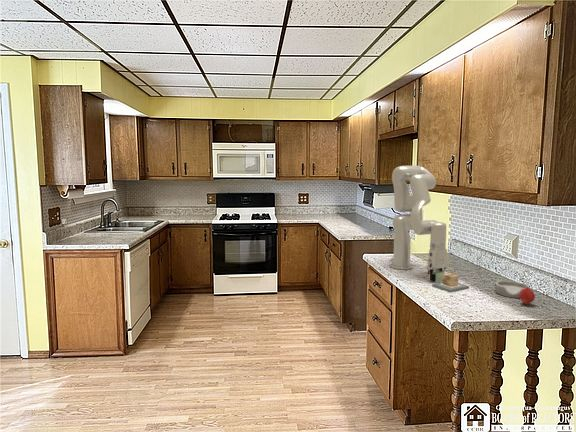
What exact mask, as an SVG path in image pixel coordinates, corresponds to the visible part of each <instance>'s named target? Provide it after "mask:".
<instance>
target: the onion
mask: <svg viewBox="0 0 576 432" xmlns="http://www.w3.org/2000/svg"><path fill="white" fill-rule="evenodd" d="M529 287H530V286H529ZM529 287H526V288H525V289H523V290H521V291H520V293H519V297H520V298H519V299H520V301H521V302H522V303H524V304H525V305H529V304H531V303H533V302H534V301H535V299H536V295H535V292H534V291H533V289H531V288H530V289H529Z"/></svg>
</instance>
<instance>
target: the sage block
mask: <svg viewBox="0 0 576 432" xmlns="http://www.w3.org/2000/svg"><path fill="white" fill-rule="evenodd" d="M435 274H436V276H435V282H434V281H432V282H433V283H440V282H443V274H445V272H442V271H439V270H435ZM428 275H429V277H428V279H429V281H430V274H428Z"/></svg>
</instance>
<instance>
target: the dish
mask: <svg viewBox="0 0 576 432" xmlns="http://www.w3.org/2000/svg"><path fill="white" fill-rule="evenodd" d="M493 285H494V288H495V289H494V290H495V293H496V294H498V295H500V296H504V297H507V298H508V297H509V298H514V299H516V298H517V299H520V297H519V293H520V291H521V290H523V289H525V288H526V287H529V289H531V288H530V286H529V285H528V284H527V283H523V282H519V281H515V280H509V281H508V280H497V281H494V284H493Z"/></svg>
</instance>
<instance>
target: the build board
mask: <svg viewBox="0 0 576 432" xmlns="http://www.w3.org/2000/svg"><path fill="white" fill-rule="evenodd" d="M431 286H432V287H433V288H436V289H438V290H442V291H445V292H446V293H447V292H449V293H454V292H457V291H464V290H469V289H470V286H469V285H466V284H464V283H459V282H458V285H457V286H453V287H450V286H447V285H444V284H443V282H438V283H436V282H434V283H432V285H431Z"/></svg>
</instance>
